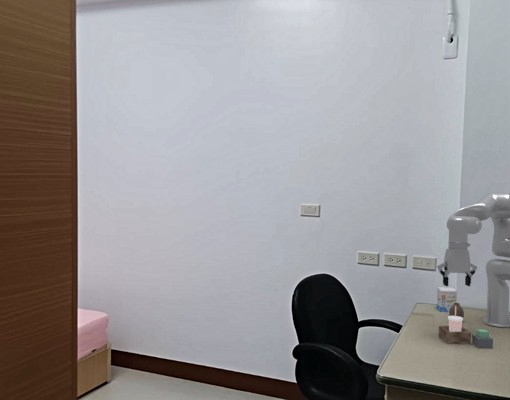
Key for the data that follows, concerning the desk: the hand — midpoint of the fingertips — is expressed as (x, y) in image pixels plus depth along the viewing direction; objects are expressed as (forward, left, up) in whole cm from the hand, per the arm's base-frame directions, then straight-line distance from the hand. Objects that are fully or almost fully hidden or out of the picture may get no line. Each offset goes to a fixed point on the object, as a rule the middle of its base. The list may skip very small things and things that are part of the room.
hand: (456, 285), depth 215 cm
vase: (-13, -32, -24) cm, 42 cm away
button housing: (-9, +7, -24) cm, 26 cm away
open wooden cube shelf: (0, 0, -24) cm, 24 cm away
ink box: (-15, -53, -24) cm, 60 cm away
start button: (-9, +7, -22) cm, 25 cm away
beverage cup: (0, -1, -23) cm, 23 cm away
